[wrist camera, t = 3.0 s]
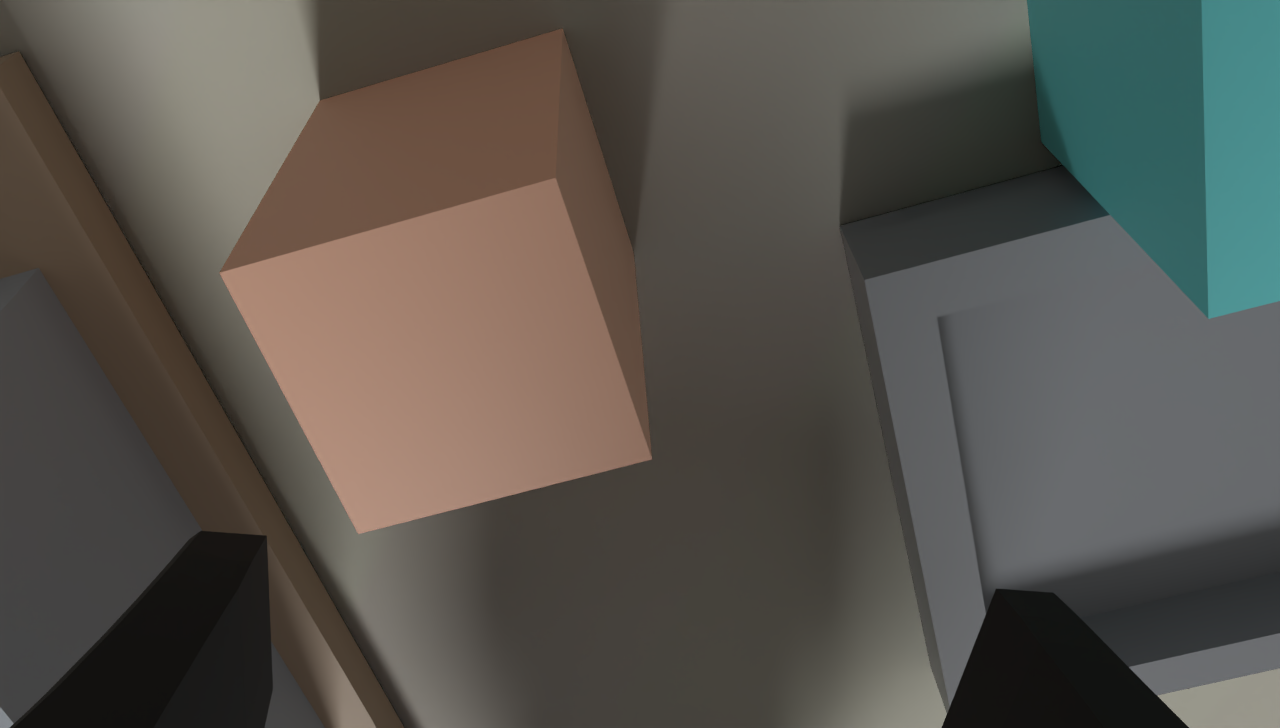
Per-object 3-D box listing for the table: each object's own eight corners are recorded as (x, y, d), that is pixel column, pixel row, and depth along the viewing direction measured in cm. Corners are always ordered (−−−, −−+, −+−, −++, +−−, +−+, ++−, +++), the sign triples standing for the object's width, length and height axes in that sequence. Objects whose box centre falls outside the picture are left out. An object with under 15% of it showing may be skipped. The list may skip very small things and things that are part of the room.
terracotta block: (634, 253, 20) (651, 459, 15) (414, 313, 20) (358, 534, 15) (562, 27, 18) (556, 177, 13) (320, 99, 18) (218, 273, 13)
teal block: (1287, 74, 19) (1552, 231, 14) (1040, 141, 19) (1208, 318, 14) (1292, -188, 17) (1605, -118, 12) (1016, -106, 17) (1201, -4, 12)
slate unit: (441, 794, 27) (402, 1119, 21) (202, 848, 28) (98, 1180, 22) (18, 50, 18) (-267, 254, 12) (-328, 158, 18) (-767, 403, 12)
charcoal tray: (1451, 547, 24) (1516, 615, 23) (931, 666, 25) (956, 739, 24) (1512, 44, 19) (1605, 83, 17) (839, 225, 20) (864, 279, 18)
